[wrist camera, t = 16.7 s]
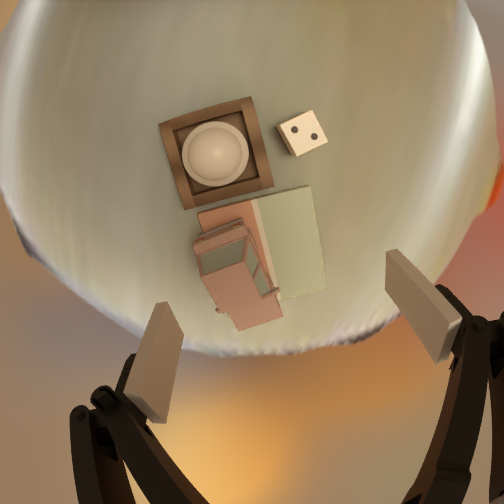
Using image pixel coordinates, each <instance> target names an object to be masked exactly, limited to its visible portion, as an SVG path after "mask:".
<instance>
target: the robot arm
mask: <svg viewBox="0 0 504 504" xmlns="http://www.w3.org/2000/svg"><path fill="white" fill-rule="evenodd" d="M385 290H386V292H387V293H388V294H389V296H390V297H391V298H392V300H393V301H394V303H395V304H396V305H397V307H398V308H399V310H400V311H401V312H402V314H403V315H404V317H405V318H406V320H407V321H408V322H409V324H410V325H411V327H412V328H413V330H414V331H415V333H416V334H417V336H418V337H419V339H420V340H421V342H422V343H423V345H424V346H425V348H426V350H427V351H428V353H429V354H430V356H431V357H432V359H433V360H434V362H435V364H438V363H440V362H442V361H444V360H446V359H448V357H449V355H450V352H451V351H452V352H453V354H454V358H453V361H452V363H451V365H450V368H449V370H450V369H451V373H450V378H449V382H448V387H447V391H446V395H445V400H444V403H443V407H442V410H441V414H440V417H439V420H438V424H437V427H436V430H435V434H434V436H433V439H432V441H431V444H430V447H429V450H428V452H427V455H426V457H425V460H424V462H423V465H422V467H421V469H420V472H419V474H418V476H417V478H416V480H415V482H414V484H413V485H412V487H411V488H410V490H409V491H408V493H407V494H406V496H405V498H404V500H403V501H402V503H401V504H462V502H463V499H464V497H465V494H466V492H467V489H468V486H469V484H470V480H471V473H470V471H469V468H470V465H471V461H472V458H473V455H474V451H475V447H476V444H477V440H478V435H479V431H480V427H481V422H482V417H483V411H484V405H485V399H486V391H487V383H488V381H489V389H490V399H491V411H492V461H491V474H490V485H489V504H504V311H503V313H501V316H500V319H498V320H493V321H487V320H486V319H485V318H484V317H482V316H473V315H472V314H471V313H470V312H469V310H468V309H467V308H466V307H465V306H464V305H463V304H462V303H461V302H460V301H459V300H458V299H457V297H456V296H455V295H453V293H452V292H451V291H450V290H449V289H448V288H446V287H444V286H443V285H441V284H438V285H436V286H434V285H433V284H432V283H431V282H430V281H429V280H428V279H427V278H426V277H425V276H424V275H423V274H422V273H421V272H420V271H419V270H418V269H417V268H416V267H415V266H414V265H413V264H412V263H411V262H410V261H409V260H408V259H407V258H406V257H405V256H404V255H403V254H402V253H401V252H400V251H399V250H398V249H394V250H390V251H386V277H385ZM183 337H184V334H183V332H182V330H181V328H180V326H179V324H178V322H177V320H176V318H175V316H174V314H173V312H172V310H171V308H170V306H169V304H168V302H162V303H156V305H155V307H154V310H153V312H152V315H151V317H150V320H149V322H148V325H147V327H146V330H145V333H144V335H143V338H142V341H141V343H140V346H139V349H138V351H137V353H135V354H131V355H130V356H129V357H128V359H127V360H126V362H125V364H124V367H123V370H122V372H121V376H120V378H119V381H118V383H117V386H116V389H115V392H114V391H113V390H112V389H111V387H109V386H107V385H105V386H100V387H98V388H97V389H96V390H95V391H94V392H93V393H92V395H91V398H90V400H91V403H92V404H93V405H94V406H95V407H96V409H93V410H89V409H88V408H87V407H86V406H84V405H79V406H77V407H75V408H74V409H73V410H72V412H71V414H70V440H71V453H72V463H73V471H74V479H75V485H76V491H77V496H78V502H79V504H136V502H135V499H134V496H133V493H132V490H131V487H130V484H129V480H128V477H127V473H126V469H125V466H124V462H125V463H126V465H127V467H128V469H129V471H130V472H131V474H132V476H133V478H134V479H135V481H136V482H137V484H138V486H139V487H140V489H141V490H142V492H143V493H144V495H145V497H146V498H147V500H148V501H149V502H150V504H209V503H208V502H207V500H206V499H205V498H204V497H203V496H202V495H201V494H200V493H199V492H198V491H197V489H196V488H195V487H194V486H193V485H192V484H191V483H190V482H189V480H188V479H187V478H186V477H185V475H184V474H183V473H182V472H181V470H180V469H179V468H178V467H177V465H176V464H175V463H174V462H173V460H172V459H171V458H170V456H169V455H168V454H167V452H166V451H165V450H164V448H163V447H162V445H161V444H160V443H159V441H158V440H157V438H156V437H155V435H154V434H153V432H152V431H151V429H150V428H149V426H148V425H146V420H147V418H148V419H149V420H150V421H151V422H152V423H166V421H167V416H168V411H169V405H170V400H171V394H172V389H173V384H174V380H175V375H176V369H177V365H178V360H179V356H180V351H181V346H182V342H183ZM123 460H124V462H123Z"/></svg>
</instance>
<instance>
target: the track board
mask: <svg viewBox="0 0 504 504" xmlns="http://www.w3.org/2000/svg"><path fill="white" fill-rule="evenodd" d="M198 217H199V220H200V223H201V227H202V230H203V233H204V232H206V231H209V230H211V229H214V228H216V227H219V226H221V225H224V224H226V223H229V222H231V221H234V220H236V219H239V218H242V219H243V220H244V222H245V224H246V227H247V229H249V228H250V230H251V233H252V235H253V237H254V240H255V243H256V245H257V247H258V248H257V249H256V250H257V252H258V255H259V257H260V259H261V262H262V264H263V266H264V269H265V271H266V273H267V276H268V278H270V277H271V280H272V282H273V285H274V287H279V288H280V291H279V292H278V293H277V296H276V297H277V299H278V301H280V300H284V299H288V298H292V297H296V296H300V295H304V294H308V293H312V292H316V291H320V290H324V289H326V281H325V273H324V266H323V259H322V252H321V245H320V239H319V233H318V226H317V221H316V215H315V209H314V204H313V198H312V193H311V188H310V186H309V185H306V186H301V187H297V188H293V189H288V190H284V191H280V192H275V193H271V194H267V195H263V196H259V197H255V198H251V199H247V200H243V201H239V202H235V203H231V204H227V205H224V206H220V207H216V208H212V209H209V210H205V211H202V212H198Z"/></svg>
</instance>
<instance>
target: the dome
mask: <svg viewBox="0 0 504 504" xmlns="http://www.w3.org/2000/svg"><path fill="white" fill-rule="evenodd" d="M248 156H249V150H248V145H247V142H246V140H245V138H244V136H243V135H242V133H241V132H240V131H239V130H238V129H236V128H235V127H234V126H232V125H230V124H227V123H224V122H216V121H215V122H208V123H204V124H202V125H200V126H198V127H197V128H195V129H194V130H193V131H192V132H191V133H190V134H189V135H188V137H187V138H186V140H185V142H184V145H183V149H182V160H183V164H184V167H185V169H186V171H187V172H188V174H189V175H190V176H191V177H192V178H193V179H194V180H196V181H197V182H199V183H201V184H204V185H207V186H222V185H226V184H229V183H231V182H232V181H234V180H235V179H237V178H238V177H239V176H240V175H241V174H242V172H243V171H244V169H245V167H246V165H247V162H248Z"/></svg>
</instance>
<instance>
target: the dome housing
mask: <svg viewBox="0 0 504 504" xmlns="http://www.w3.org/2000/svg"><path fill="white" fill-rule="evenodd" d="M215 121H216V122H224V123H227V124H230V125H232V126H234V127H235V128H236V129H238V130H239V131H240V132H241V133H242V135H243V136H244V138H245V140H246V142H247V145H248V150H249V156H248V162H247V165H246V167H245V169H244V171H243V172H242V174H241V175H240V176H239V177H238V178H237V179H235V180H234V181H232V182H231V183H229V184H226V185H222V186H207V185H204V184H201V183H199V182H197V181H196V180H194V179H193V178H192V177H191V176H190V175H189V174H188V172H187V171H186V169H185V167H184V164H183V160H182V149H183V145H184V142H185V140H186V138H187V137H188V135H189V134H190V133H191V132H192V131H193V130H194V129H195V128H197V127H198V126H200V125H202V124H204V123H208V122H215ZM159 128H160V131H161V135H162V138H163V142H164V145H165V149H166V152H167V155H168V159H169V162H170V165H171V169H172V172H173V175H174V178H175V181H176V185H177V188H178V191H179V194H180V197H181V200H182V203H183V206H184V209H185V210H187V209H191V208H194V207H198V206H201V205H205V204H208V203H212V202H215V201H219V200H223V199H227V198H230V197H234V196H238V195H242V194H246V193H250V192H254V191H258V190H262V189H266V188H270V187H274V183H273V179H272V175H271V171H270V166H269V162H268V158H267V154H266V150H265V146H264V142H263V138H262V135H261V131H260V127H259V123H258V119H257V115H256V112H255V108H254V104H253V101H252V97H251V96H250V97H246V98H242V99H238V100H234V101H230V102H226V103H222V104H218V105H215V106H211V107H208V108H204V109H201V110H198V111H195V112H191V113H188V114H185V115H182V116H179V117H176V118H173V119H171V120H168V121H165V122H162V123H160V124H159Z"/></svg>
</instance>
